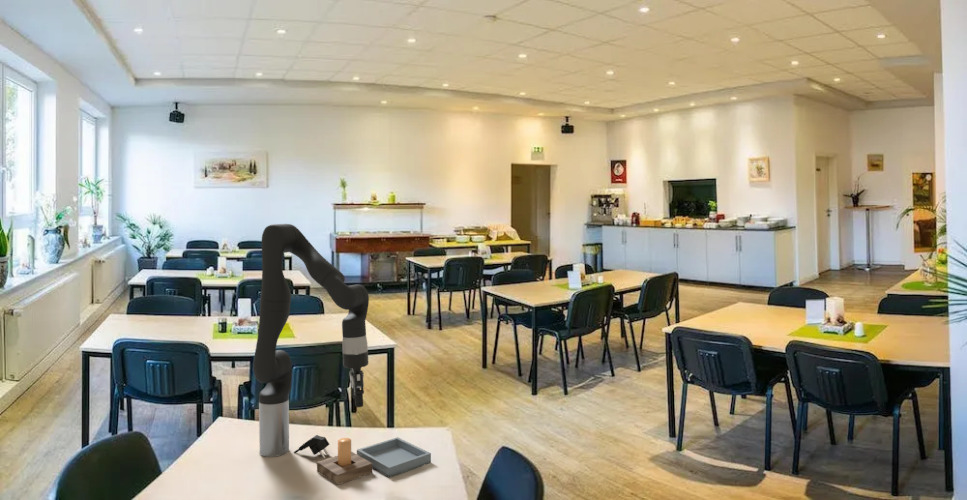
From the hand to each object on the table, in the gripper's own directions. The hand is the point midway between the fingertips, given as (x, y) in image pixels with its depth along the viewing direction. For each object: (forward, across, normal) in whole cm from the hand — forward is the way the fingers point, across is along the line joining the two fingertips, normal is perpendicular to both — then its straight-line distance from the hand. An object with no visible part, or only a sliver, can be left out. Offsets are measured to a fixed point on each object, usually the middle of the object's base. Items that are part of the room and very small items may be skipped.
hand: (358, 402), depth 186 cm
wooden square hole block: (+21, 0, -5) cm, 21 cm away
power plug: (+20, -16, -15) cm, 30 cm away
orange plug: (+21, 0, -5) cm, 21 cm away
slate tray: (+21, -5, +10) cm, 24 cm away
